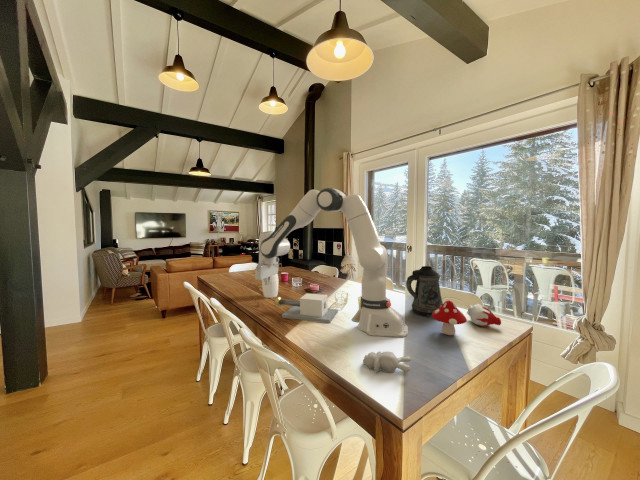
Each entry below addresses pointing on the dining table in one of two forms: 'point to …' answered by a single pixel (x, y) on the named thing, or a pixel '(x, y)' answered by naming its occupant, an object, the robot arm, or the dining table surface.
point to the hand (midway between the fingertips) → (267, 284)
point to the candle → (482, 315)
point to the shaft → (286, 302)
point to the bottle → (271, 287)
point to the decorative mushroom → (449, 317)
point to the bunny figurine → (385, 362)
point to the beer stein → (425, 291)
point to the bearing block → (312, 309)
